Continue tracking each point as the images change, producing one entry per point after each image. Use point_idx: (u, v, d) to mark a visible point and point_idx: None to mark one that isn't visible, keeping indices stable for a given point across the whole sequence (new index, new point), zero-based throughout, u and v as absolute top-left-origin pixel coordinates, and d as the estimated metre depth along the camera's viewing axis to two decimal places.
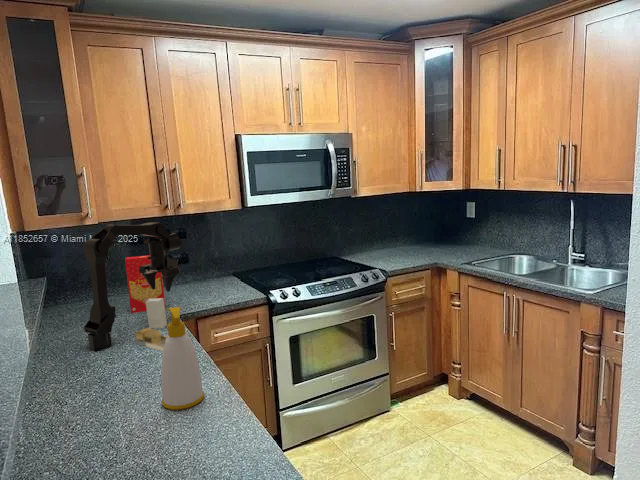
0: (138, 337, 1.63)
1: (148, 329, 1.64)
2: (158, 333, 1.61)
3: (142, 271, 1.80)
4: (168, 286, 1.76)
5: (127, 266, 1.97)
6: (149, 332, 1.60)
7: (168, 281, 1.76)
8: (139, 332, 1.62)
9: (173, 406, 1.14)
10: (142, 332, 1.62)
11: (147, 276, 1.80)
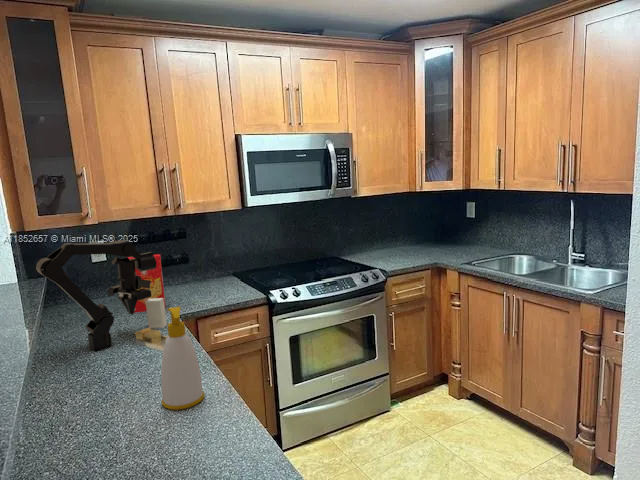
0: (138, 337, 1.63)
1: (148, 329, 1.64)
2: (158, 333, 1.61)
3: (111, 293, 1.66)
4: (131, 308, 1.64)
5: None
6: (149, 332, 1.60)
7: (131, 303, 1.64)
8: (139, 332, 1.62)
9: (173, 406, 1.14)
10: (142, 332, 1.62)
11: (124, 300, 1.64)
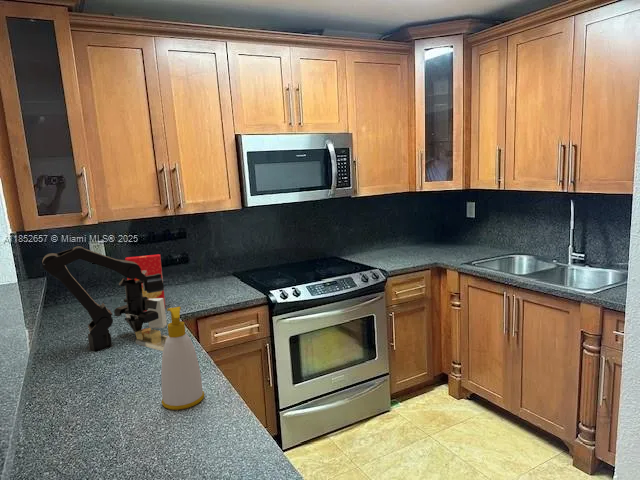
0: (138, 337, 1.63)
1: (149, 329, 1.64)
2: (158, 333, 1.61)
3: (118, 314, 1.65)
4: (137, 330, 1.65)
5: None
6: (149, 332, 1.60)
7: (138, 324, 1.64)
8: (140, 332, 1.62)
9: (173, 406, 1.14)
10: (143, 332, 1.62)
11: None
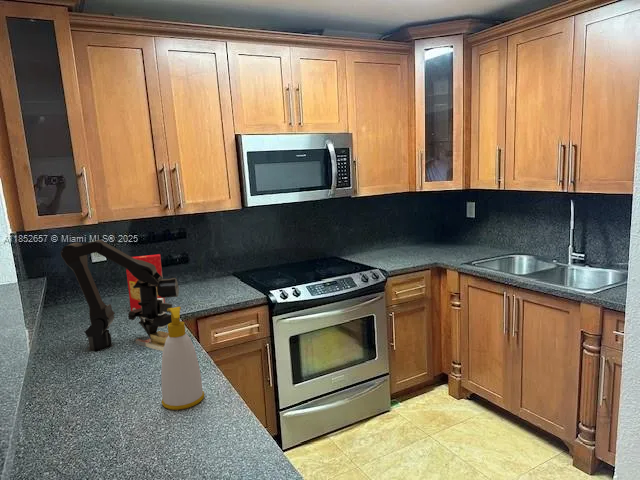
0: (153, 340, 1.58)
1: None
2: None
3: (132, 318, 1.61)
4: None
5: None
6: (163, 335, 1.56)
7: (152, 328, 1.59)
8: (155, 336, 1.57)
9: (173, 406, 1.14)
10: None
11: (145, 325, 1.59)
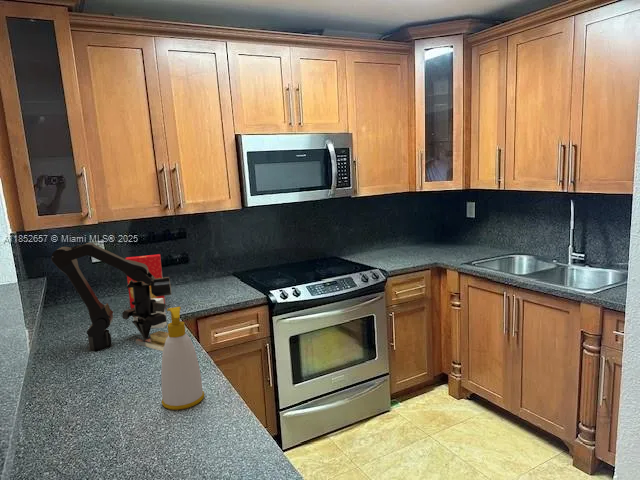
0: (153, 340, 1.58)
1: None
2: None
3: (125, 317, 1.63)
4: (145, 333, 1.62)
5: None
6: (163, 335, 1.56)
7: (146, 328, 1.61)
8: (155, 336, 1.57)
9: (173, 406, 1.14)
10: None
11: (138, 324, 1.61)
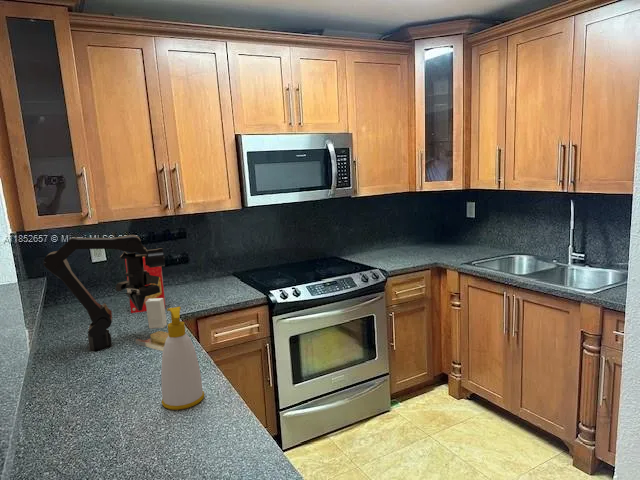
0: (153, 340, 1.58)
1: None
2: None
3: (119, 289, 1.63)
4: (139, 304, 1.61)
5: None
6: (163, 335, 1.56)
7: (139, 299, 1.61)
8: (155, 336, 1.57)
9: (173, 406, 1.14)
10: None
11: (132, 296, 1.61)
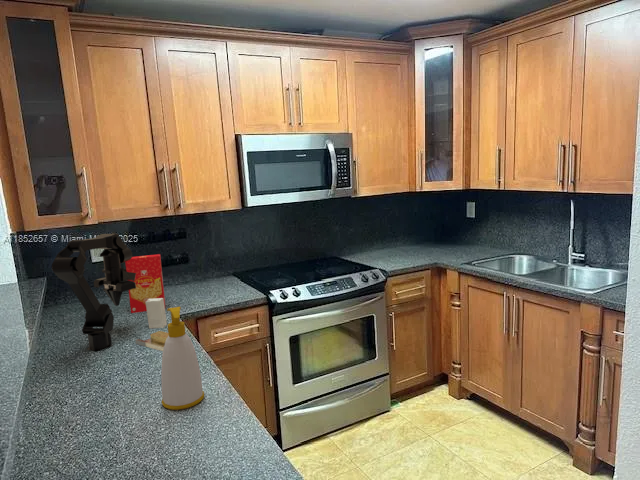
0: (153, 340, 1.58)
1: None
2: None
3: (97, 285, 1.70)
4: (116, 300, 1.69)
5: (127, 266, 1.97)
6: (163, 335, 1.56)
7: (116, 295, 1.69)
8: (155, 336, 1.57)
9: (173, 406, 1.14)
10: None
11: (109, 292, 1.68)
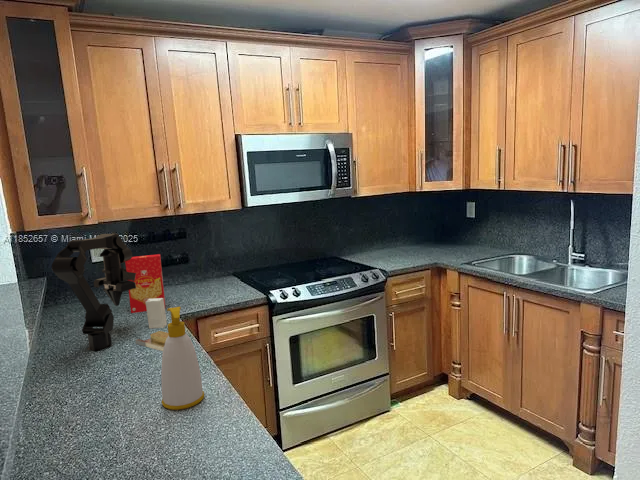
0: (153, 340, 1.58)
1: None
2: None
3: (97, 285, 1.70)
4: (116, 300, 1.69)
5: (127, 266, 1.97)
6: (163, 335, 1.56)
7: (116, 295, 1.69)
8: (155, 336, 1.57)
9: (173, 406, 1.14)
10: None
11: (109, 292, 1.68)
